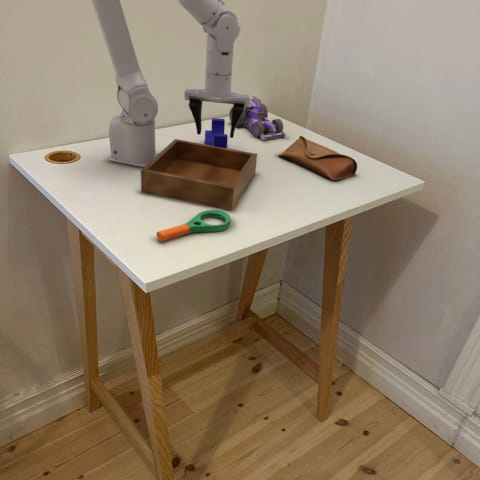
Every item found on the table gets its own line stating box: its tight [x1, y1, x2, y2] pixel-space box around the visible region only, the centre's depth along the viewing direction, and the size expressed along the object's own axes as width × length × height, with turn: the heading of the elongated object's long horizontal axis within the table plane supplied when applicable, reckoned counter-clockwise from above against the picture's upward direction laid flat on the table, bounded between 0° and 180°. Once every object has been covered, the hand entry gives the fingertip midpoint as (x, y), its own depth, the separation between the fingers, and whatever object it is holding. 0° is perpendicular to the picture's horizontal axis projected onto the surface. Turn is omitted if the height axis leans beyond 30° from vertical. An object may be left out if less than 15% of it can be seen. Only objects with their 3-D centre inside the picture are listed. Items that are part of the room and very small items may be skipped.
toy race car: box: [228, 95, 286, 142], centre depth 135 cm, size 10×15×6 cm, turn 33°
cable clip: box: [204, 117, 229, 148], centre depth 121 cm, size 12×4×6 cm, turn 5°
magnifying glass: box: [155, 209, 231, 242], centre depth 93 cm, size 15×6×2 cm, turn 131°
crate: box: [140, 138, 258, 211], centre depth 108 cm, size 19×19×5 cm
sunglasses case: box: [278, 135, 358, 181], centre depth 121 cm, size 18×7×7 cm, turn 44°
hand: (215, 134), depth 121 cm, fingers open, 7 cm apart
